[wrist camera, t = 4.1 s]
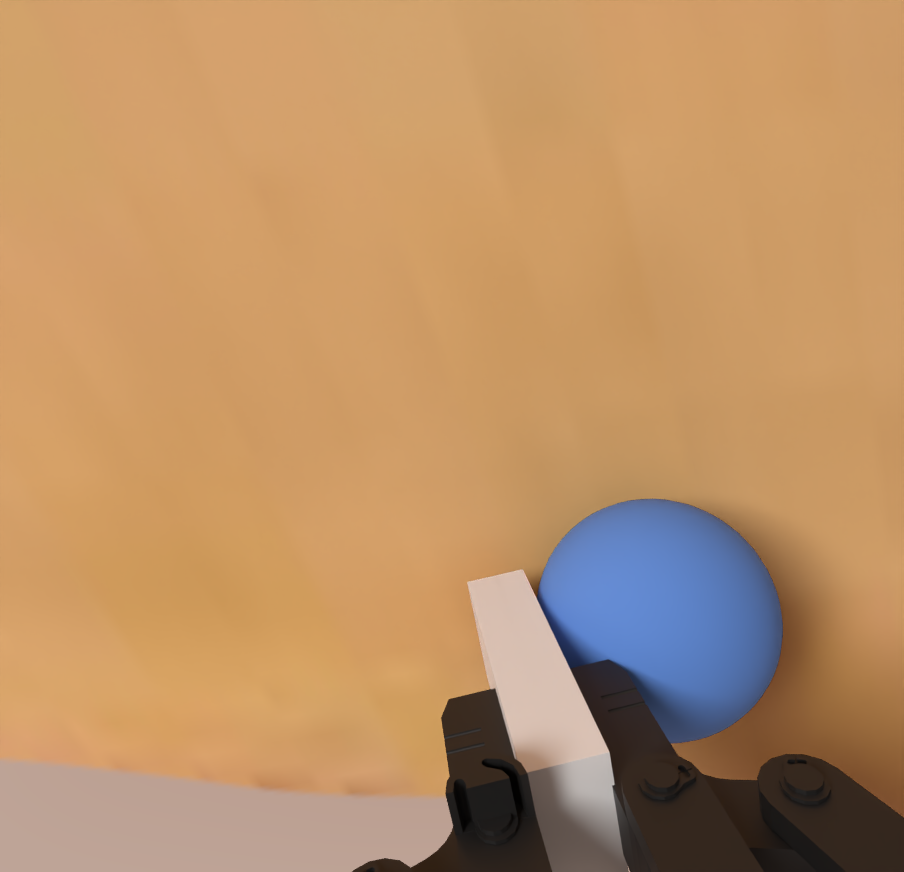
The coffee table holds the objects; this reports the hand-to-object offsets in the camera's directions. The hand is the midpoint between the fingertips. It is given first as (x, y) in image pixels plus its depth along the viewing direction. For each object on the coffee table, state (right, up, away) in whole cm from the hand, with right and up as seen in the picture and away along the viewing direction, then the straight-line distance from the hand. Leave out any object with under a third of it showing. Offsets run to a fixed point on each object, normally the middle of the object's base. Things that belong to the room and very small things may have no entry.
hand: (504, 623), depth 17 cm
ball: (+3, 0, -1) cm, 4 cm away
